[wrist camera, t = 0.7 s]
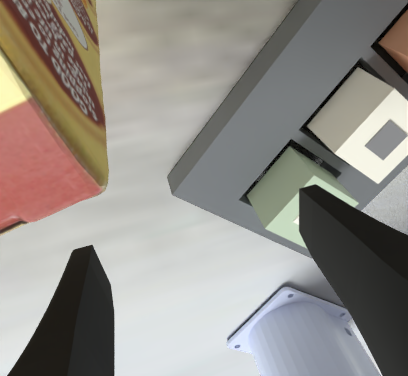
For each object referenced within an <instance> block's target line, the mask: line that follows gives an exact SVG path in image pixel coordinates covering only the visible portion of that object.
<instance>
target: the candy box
mask: <svg viewBox="0 0 408 376" xmlns="http://www.w3.org/2000/svg"><path fill="white" fill-rule="evenodd" d="M108 173H109V169H108V159H107V146H106V126H105V114H104V105H103V92H102V87H101V75H100V54H99V40H98V24H97V14H96V0H0V236H1V235H3V234H5V233H7V232H10V231H12V230H14V229H16V228H18V227H20V226H22V225H25V224H27V223H30V222H35V221H38V220H40V219H43V218H45V217H47V216H49V215H52V214H54V213H56V212H58V211H61V210H63V209H65V208H67V207H69V206H71V205H73V204H75V203H77V202H80V201H82V200H86V199H89V198H92V197H95V196H98V195H99V194H101V193H102V192H104V191H105V190H106V187H107V184H108Z"/></svg>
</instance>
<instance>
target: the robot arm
mask: <svg viewBox="0 0 408 376" xmlns="http://www.w3.org/2000/svg"><path fill="white" fill-rule="evenodd" d="M299 232H300V235H301V237H302V239H303V241H304V243H305V245H306V247H307V249H308V251H309V253H310V255H311V256H312V258H313V259H314V261H315V262H316V264H317V265H318V267H319V268H320V270H321V271H322V273H323V274H324V276H325V277H326V279H327V280H328V282H329V283H330V285H331V286H332V288H333V289H334V290H335V292H336V293H337V295H338V296H339V298H340V299H341V301H342V302H343V304H344V305H345V307H346V308H347V309H346V308H343V307H340V306H338V305H335V304H332V303H330V302H327V301H325V300H322V299H319V298H317V297H314V296H311V295H309V294H306V293H303V292H301V291H298V290H296V289H293V288H290V287H283V288H282V289H280V290H279V291H278V292H277V293H276V294H275V295H274V296H273V297H272V298H271V299H270V300H269V301H268V302H267V303H266V304H265V305H264V306H263V307H262V308H261V309H260V310H259V311H258V312H257V313H256V314H255V315H254V316H253V317H252V318H251V319H250V320H249V321H248V322H247V323H246V324H244V325H243V326H242V327H241V328H240V329H239V330H238V331H237V332H236V333H235V334H234V335H233V336H232V337H231V338H230V339H229V340H228V341H227V347H228V348H230V349H234V350H238V351H242V352H247V353H251V354H253V357H254V360H255V362H256V365H257V368H258V371H259V373H260V376H381V375H380V373H379V372H378V370H377V369H376V367H375V365H374V364H373V362H372V361H371V359H370V357H369V356H368V354H367V353H366V351H365V349H364V348H363V346H362V344H361V343H360V341H359V340H358V338H357V336H356V335H355V333H354V332H353V330H352V328H351V327H350V325H349V324H348V321H349V320H350V319H352V318H353V320H354V322H355V324H356V325H357V327H358V329H359V331H360V333H361V335H362V336H363V338H364V340H365V342H366V344H367V346H368V348H369V350H370V352H371V354H372V356H373V358H374V360H375V361H376V363H377V365H378V367H379V369H380V371H381V373H382V375H383V376H408V235H406V234H404V233H402V232H400V231H397V230H395V229H393V228H391V227H389V226H387V225H385V224H383V223H381V222H379V221H378V220H376V219H374V218H372V217H370V216H368V215H367V214H365V213H363V212H361V211H360V210H358V209H356V208H354V207H353V206H351V205H349V204H348V203H346V202H344V201H343V200H341V199H339V198H338V197H336V196H334V195H333V194H331V193H330V192H328V191H326V190H325V189H323V188H321V187H320V186H318V185H316V184H314V185H310V186H307V187H303V188H299ZM7 376H114V307H113V299H112V291H111V284H110V282H109V280H108V278H107V276H106V274H105V271H104V269H103V267H102V265H101V263H100V260H99V258H98V256H97V254H96V252H95V250H94V247H93V245H89V246H86V247H82V248H78V249H75V250H73V252H72V253H71V256H70V258H69V261H68V263H67V266H66V268H65V271H64V273H63V275H62V278H61V280H60V282H59V285H58V287H57V289H56V291H55V293H54V295H53V298H52V300H51V302H50V304H49V306H48V308H47V310H46V312H45V314H44V316H43V318H42V319H41V321H40V323H39V325H38V327H37V329H36V331H35V333H34V334H33V336H32V338H31V340H30V341H29V343H28V345H27V346H26V348H25V350H24V351H23V353H22V354H21V356H20V357H19V359H18V361H17V362H16V364H15V365H14V367H13V368H12V370H11V371H10V372H9V374H8V375H7Z"/></svg>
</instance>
